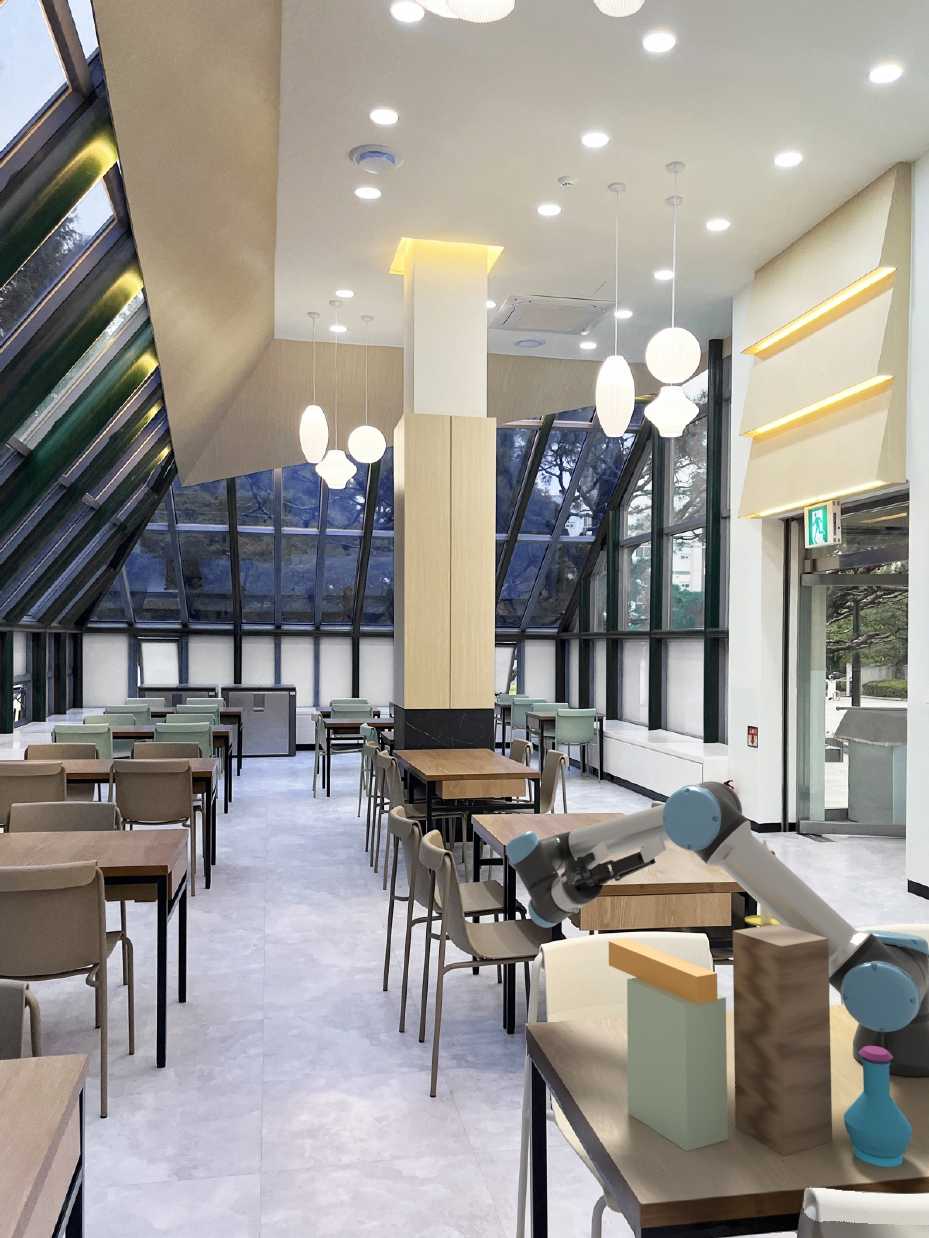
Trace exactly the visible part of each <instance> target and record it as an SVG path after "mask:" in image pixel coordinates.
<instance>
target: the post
mask: <svg viewBox="0 0 929 1238" xmlns="http://www.w3.org/2000/svg"><path fill="white" fill-rule="evenodd" d="M732 961H733V962H732V963H733V964H732V968H733V970H732V972H733V975H732V976H733V1044H734V1045H733V1046H734V1047H733V1055H734V1060H733V1061H734V1120H735V1121H734V1125H735V1128H736V1129H737V1130H739V1131H741V1132H743V1133H744V1134H746V1135H748V1136H750V1137H752V1138H753V1139H755V1140H757V1141H758V1142H760V1143H762V1144H763V1145H766V1146H768V1147H769V1148H771V1149H773V1151H776V1152H778V1153H780V1154H782V1155H783V1156H789V1155H791V1154H794V1153H795V1154H796V1153H797V1152H801V1151H804V1150H807V1149H810V1148H814V1147H816V1146H819V1145H824V1144H826V1143H829V1142H832V1141H833V1113H832V1112H833V1107H832V1106H833V1105H832V1063H831V1061H832V1060H831V1058H832V1057H831V1013H830V1010H831V1009H830V1005H831V1003H830V983H829V954H828V938H825V937H821V936H818V935H815V934H811V933H808V932H804V931H801V930H798V929H794V928H791V927H787V926H784V925H781V924H774V925H768V926H761V927H760V926H755V927H748V928H743V929H736V930H732Z"/></svg>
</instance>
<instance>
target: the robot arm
mask: <svg viewBox="0 0 929 1238" xmlns="http://www.w3.org/2000/svg"><path fill="white" fill-rule="evenodd" d="M742 807H743V806H742V803H741V801H740V798H739V797H738V795H737V793H736V792H735V791H734V790H733V789H732V788H730V787H729V786H728V785H726V784H724V783H721V782H718V781H703V782H701V783H697V784H687V785H685V786H682V787H680V788H679V789H678V790H675V792H673V793H672V794H671V795H670V796H669V797H668V798H667V800H666V801H665V803H664V804H660V805H657V806H654V807H649V808H647V809H642V810H640V811H639V810H638V811H636V812H633V813H630V814H629V813H628V814H626V815H621V816H619V817H615V818H611V819H608V820H604V821H601V822H598V823H595V824H591V825H588V826H583V827H580V828H577V829H574V830H571V831H566V832H563V833H559V834H554V835H553V836H549V837H546V838H541V839H540V837H538V835H537V834H536V833H535V832H534V831H532V830H528V831H526V832H523V833H521V834H519V835H518V836H516V837H514V838H513V839H511V840H510V841H509V842H508V843H507V844H506V846H505V852H506V853H507V856H508V858H509V860H510V863H511V865H513V868H514V869H515V871H516V873H517V876H519V879H520V880H521V882H522V883H523V886H524V887H525V889H526V890H527V892H528V895H529V897H530V899H529V902H528V905H527V908H528V914H529V917H530V919H531V920H532V921H533V922H534V923H535V924H536V925H537V926H539V927H542V928H546V929H547V928H551V927H555V926H556V925H557V924H559V923H561V922H563V921H565V920H566V919H568V917H570V916H572V915H573V914H574V913H575V914H577V913H579V912H580V909H581V908H582V907H584V906H586V905H587V904H589V903H590V902H592V901H593V900H594V899H596V898H598V897H599V896H600V894H601V893H602V890H603V886H604V885H606V884H607V883H608V882H610V881H613V880H614V881H615V882H619V881H620V880H622V879H624V878H626V877H627V876H629V875H632V874H634V873H636V872H639V871H640V870H643V869H644V868H647V867H649V866H652V865H654V864H656V863H657V862H656V859H655V858H656V857H658V856H660V855H661V854H662V853H663V852H664V851H666V850H667V848H666V844H665V843H667V842H672V843H673V844H675V845H676V846H677V847H680V848H681V849H683V850H686V851H691V852H693V853H695V855H696V856H698V857H699V859H700V860H702V862H704V863H705V864H706V865H707V866H708V867H719V868H722V870H724V872H726V874H727V875H728V876H730V877H731V878H732V880H734V881H735V882H736V883H737V884H738V885H739V886H740V887H741V888H742V889H743V890H744V891H745V892H747V894H748V895H749V896H751V897H752V898H753V899H754V900H755V901H756V902H757V903H758V904H759V905H761V906H762V907H763V908H764V909H765V910H766V911H767V912H768V913H769V914H770V915H771V916H772V917H773V918H775V919H776V920H777V921H778V922H779V923H780V924H781V925H784V926H787V927H791V928H794V929H798V930H801V931H804V932H808V933H811V934H815V935H818V936H821V937H825V938H828V954H829V985H831V986H832V987H833V988H834V990H835V991H837V992H838V993H839V994H840V995H841V999H842V1002H843V1005H844V1008H845V1009H846V1010H847V1012H848V1013H849V1015H850V1017H852V1018H853V1019H854V1020H855V1021H856V1022H857V1023H858V1025H857V1028H856V1031H855V1034H854V1037H853V1038H852V1055H853V1057H854V1058H855V1059H856V1061H858V1062H859V1063H860V1064H862V1065H863V1061H862V1056H861V1055H860V1054H859V1051H860V1050H861V1049H862V1048H863V1047H865V1046H877V1047H881V1048H884V1049H886V1050H887V1051H888V1052H889V1053H890V1054H891V1055H892V1056H893V1058H892V1059H891V1060H890V1065H889V1075H890V1074H891V1075H894V1076H895V1075H897V1076H903V1077H915V1078H916V1077H917V1078H918V1077H929V943H928V941H927V940H926V939H925V938H923V937H922V936H919V935H914V934H910V933H909V934H908V933H903V932H898V931H897V932H896V931H887V930H873V929H871V930H864V931H863V930H862V931H861V930H856V929H855V928H854V927H853V926H852V925H851V924H850V923H849V922H847V920H846V919H844V918H843V916H841V915H840V914H839V913H838V912H837V911H836V910H835V909H833V908H832V907H831V906H830V904H828V903H827V902H826V901H825V900H824V899H823V898H821V896H820V895H818V894H817V892H815V891H814V890H813V889H812V888H811V887H809V885H808V884H807V883H805V882H804V881H803V880H802V879H801V878H800V877H799V876H798V875H797V874H795V873H794V872H793V870H791V869H790V868H789V867H788V865H786V864H785V863H784V862H783V861H781V860H780V859H779V858H778V857H777V856H776V855H775V854H774V853H773V852H772V851H771V850H770V851H769V850H768V849H767V848H766V847H765V846H764V845H763V842H761V841H760V840H759V839H758V838H757V837H756V836H754V834H753V833H752V830H751V829H752V828H751V821H750V820H749V819H748V818H746V817H745V816H744V815H743V808H742ZM635 850H639V851H638V852H635V853H633V854H631V855H628V856H625V857H622V858H620V859H617V860H612V859H609V860H607V861H605V862H603V861H604V860H606V859H607V858H610V857H613V856H616V855H620V854H625V853H628V852H632V851H635ZM609 866H610V867H611V869H610V867H609ZM563 870H564V871H563ZM558 871H563V872H562V873H561V874H559V872H558Z"/></svg>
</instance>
